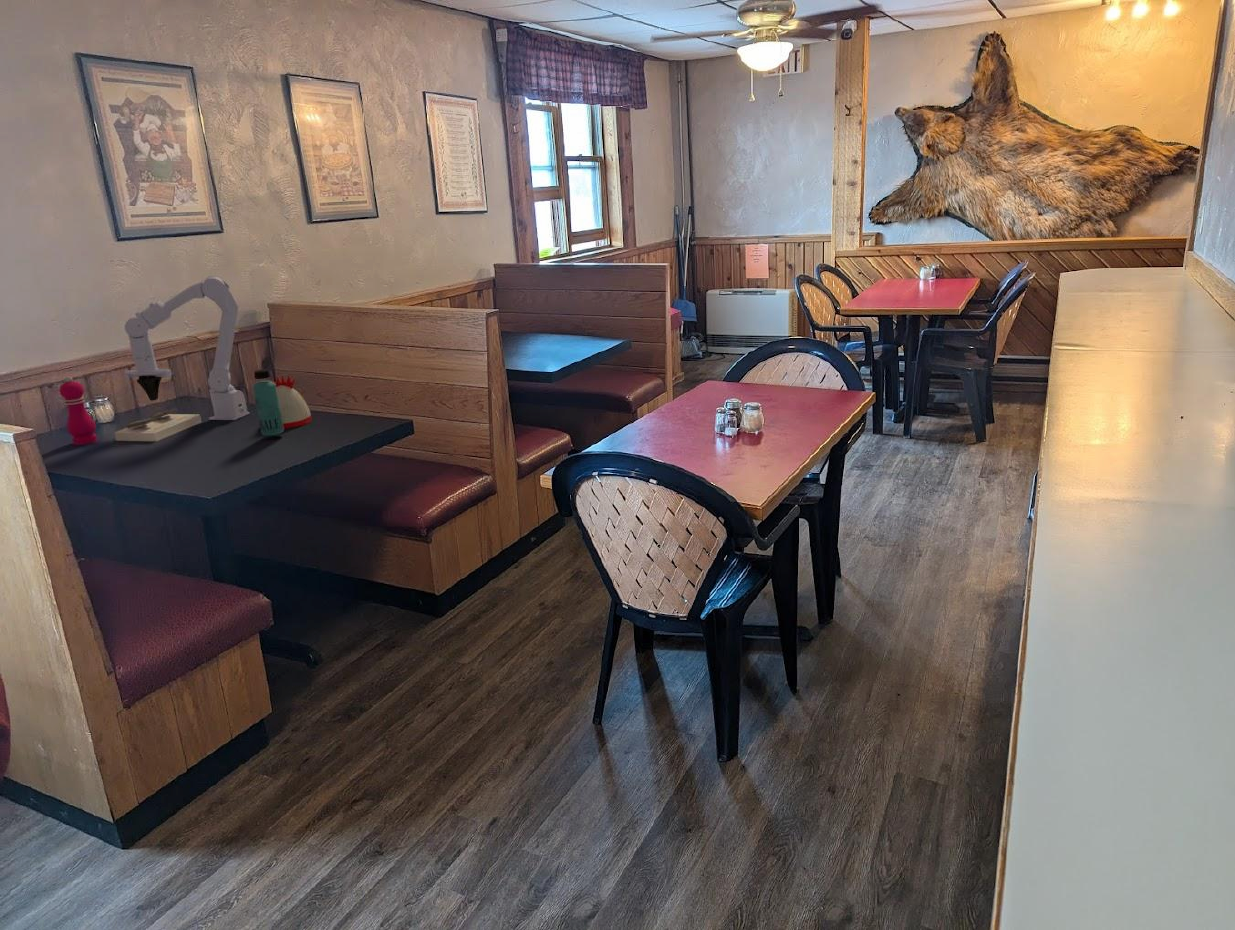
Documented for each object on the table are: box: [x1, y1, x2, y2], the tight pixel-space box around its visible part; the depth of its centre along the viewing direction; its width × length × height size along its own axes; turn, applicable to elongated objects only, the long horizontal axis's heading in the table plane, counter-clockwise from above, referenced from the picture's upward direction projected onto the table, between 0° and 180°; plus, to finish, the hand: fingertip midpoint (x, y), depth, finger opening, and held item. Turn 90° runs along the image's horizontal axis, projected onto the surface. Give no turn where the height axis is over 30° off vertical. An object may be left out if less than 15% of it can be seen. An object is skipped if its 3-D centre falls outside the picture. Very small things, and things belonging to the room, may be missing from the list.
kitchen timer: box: [270, 374, 312, 430], centre depth 261 cm, size 14×14×15 cm
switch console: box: [114, 413, 202, 442], centre depth 261 cm, size 14×20×3 cm
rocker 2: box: [150, 407, 179, 419], centre depth 265 cm, size 7×4×1 cm, turn 77°
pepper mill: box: [59, 376, 98, 446], centre depth 251 cm, size 7×7×20 cm
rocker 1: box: [126, 417, 155, 428], centre depth 256 cm, size 7×4×1 cm, turn 77°
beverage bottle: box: [252, 368, 285, 436], centre depth 245 cm, size 6×7×20 cm
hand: (154, 399), depth 264 cm, fingers closed
